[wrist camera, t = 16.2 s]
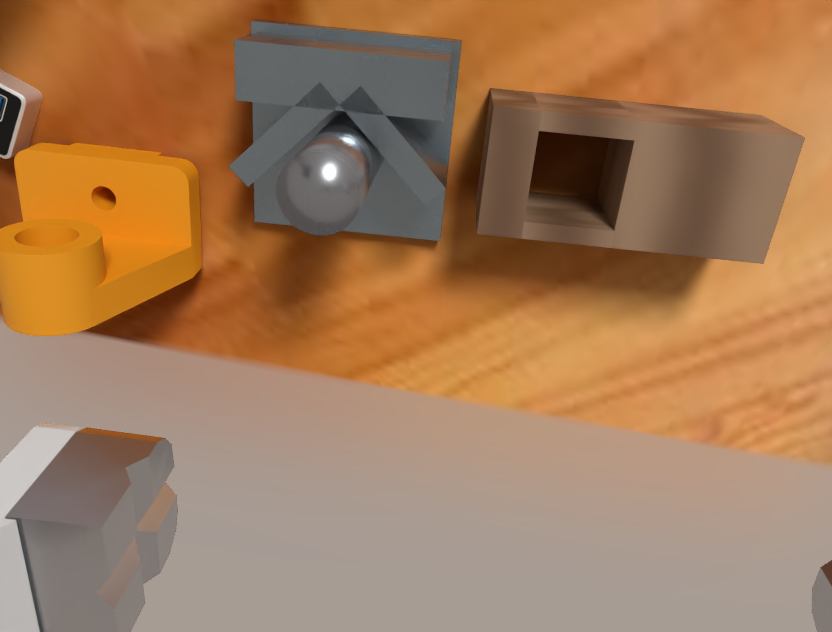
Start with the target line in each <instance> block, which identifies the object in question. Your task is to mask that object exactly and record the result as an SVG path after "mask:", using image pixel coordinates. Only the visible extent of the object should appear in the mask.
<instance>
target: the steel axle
mask: <svg viewBox="0 0 832 632" xmlns="http://www.w3.org/2000/svg"><path fill="white" fill-rule="evenodd" d="M383 160H384V157H383V155H382V154H381V153H380V152H379V151H378V150H377V148H376V147H375V146H374V145H373V144H372V142H371V141H370V140H369V139H368V138H367V137H366V135H365V134H364V133H363V132H362V131H361V130H360V128H359V127H358V126H357V125H356V124H355V122H354V121H353V120H352V119H351V118H350V117H349V115H348V114H347V113H343V114H340V115H338V116H336V117H334V118H333V119H332V120H331V121H330V122H329V123H328V124H327V125H326V126H325V127H324V128H322V129H321V130H320V131H319V132H318V133H317V134H316V135H315V136H314V137H313V138H312V139H311V140H310V141H309V142H308V143H307V144H306V145H305V146H304V147H303V148H302V149H301V150H300V151H299V152H298V153H297V154H296V155H295V156H294V157H293V158H292V159H291V160H290V161H289V162H288V163H287V164H286V165H285V166H284V167H283V169H282V170H281V172H280V174H279V176H278V179H277V184H276V197H277V202H278V205H279V207H280V210H281V212H282V213H283V215H284V216H285V217H286V219H287V220H288V221H289V222H290V223H291V224H292V225H293V226H295V227H296V228H298V229H299V230H301V231H303V232H305V233H309V234H312V235H320V236H324V235H331V234H335V233H337V232H339V231H341V230H343V229H345V228H346V227H347V226H348V225H349V224H351V222H352V221H353V220H354V218H355V217H356V215H357V213H358V211H359V209H360V207H361V205H362V203H363V201H364V199H365V197H366V195H367V193H368V191H369V189H370V187H371V185H372V183H373V181H374V179H375V177H376V175H377V173H378V171H379V168H380V166H381V164H382V162H383Z"/></svg>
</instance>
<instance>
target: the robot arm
mask: <svg viewBox="0 0 832 632" xmlns="http://www.w3.org/2000/svg"><path fill="white" fill-rule="evenodd" d="M173 467H174V460H173V453H172V444H171V443H170V442H169V441H168V440H167V439H166V438H161V437H153V436H146V435H138V434H131V433H123V432H115V431H108V430H101V429H93V428H81V427H75V426H67V425H59V424H51V423H50V424H49V423H44V424H41V425H38V426H35V427H34V428H32V430H31V431H30V432H29V433H28V434H27V435H26V436H25V437H24V438H23V439H22V440H21V441H20V442H19V443H18V444H17V445H16V446H15V448H13V450H12V451H11V452H10V453H9V454H8V455H7V456H6V457H5V458H4V459H3V460H2V461H1V462H0V632H131V630H132V628H133V626H134V624H135V622H136V620H137V618H138V616H139V614H140V612H141V610H142V608H143V606H144V604H145V598H144V589H143V584H144V583H146V582H147V581H148V580H150V579H152V578H153V577H155V576H156V575H158V574H159V573H160V572H161V570H162V568H163V566H164V564H165V562H166V560H167V558H168V556H169V554H170V550H171V546H172V543H173V539H174V535H175V532H176V525H177V513H178V509H177V495H176V494H175V493H174V492H173V490H172V489H171V488H170V487H169V486H168V485H167V483H166V482H165V481H166V480H167V478H168V476H169V474H170V473H171V471H172V469H173ZM812 614H813V617H814V621H815V625H816V629H817V631H818V632H832V560H831V561H830V562H828V563H827V564H825V565H824V566H822V567H821V568H820V570H819V573H818V575H817V578H816V580H815V583H814V585H813V588H812Z"/></svg>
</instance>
